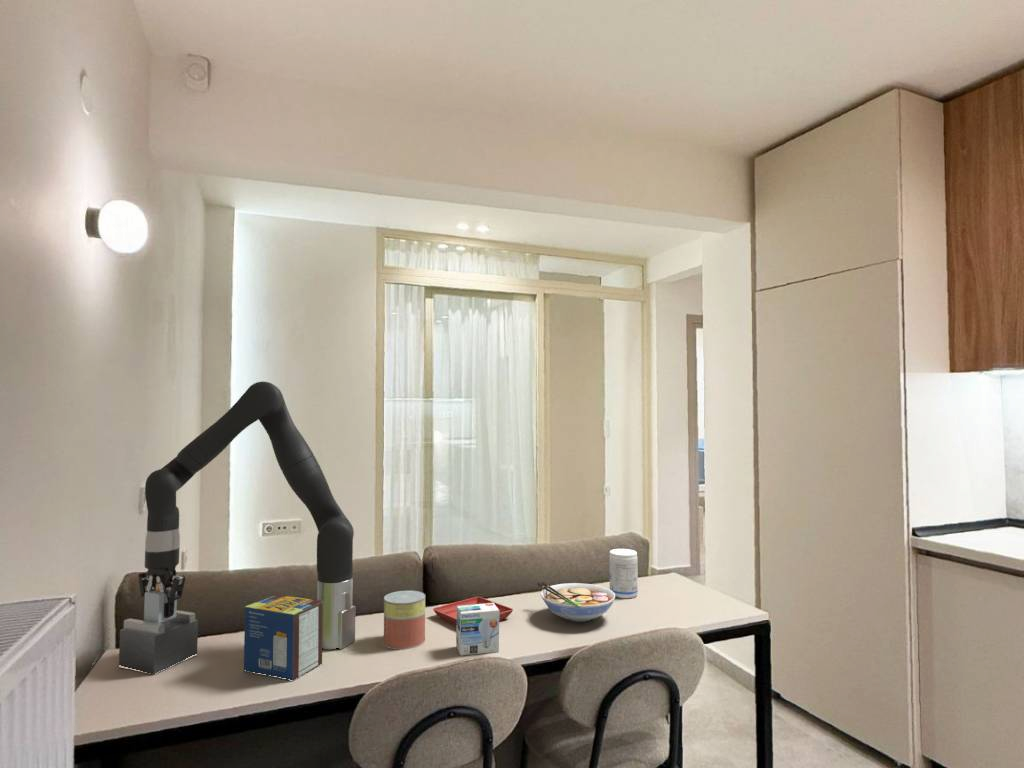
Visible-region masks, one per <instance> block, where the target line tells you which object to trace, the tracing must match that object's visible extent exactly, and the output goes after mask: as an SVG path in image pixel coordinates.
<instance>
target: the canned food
mask: <svg viewBox="0 0 1024 768" xmlns="http://www.w3.org/2000/svg"><path fill="white" fill-rule="evenodd" d="M425 642H426V593H424V592H423V591H419V590H411V589H410V590H397V591H393V592H389V593H388V594H387V593H386V594H385V595H384V596H383V643H384V644H383V646H385V647H386V648H388V647H389V648H388V649H391V648H392V650H409V649H414V648H417V647H420V646H422V645H424V644H425Z"/></svg>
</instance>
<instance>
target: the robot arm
mask: <svg viewBox="0 0 1024 768" xmlns="http://www.w3.org/2000/svg"><path fill="white" fill-rule="evenodd" d="M257 421H259V422H260V424H261V425H262V426H263V428H264V430H265V432H266V434H267V435H268V438H269V440H270V443H271V446H272V450H273V453H274V455H275V459H276V461H277V465H278V466H279V468H280V470H281V473H282V474H283V476H284V478H285V480H286V482H287V483H288V485H289V487H290V488H291V490H292V491H293V492H294V493H295V495H296V496H297V497H298V499H299V500H300V501H301V502H302V503H303V504H304V505H305V507H306V508H307V510H308V511H309V513H310V515H311V517H312V519H313V521H314V524H315V526H316V529H317V535H316V572H317V585H316V587H317V589H316V590H317V593H316V600H320V601H322V602H323V607H322V648H323V649H322V650H337V649H336V648H339V649H340V650H342V648H343V649H344V648H346V647H347V645H348V646H349V645H351V644H353V643H355V642H356V608H357V607H356V606H355V605H354V604H353V587H354V586H353V583H354V582H353V579H354V578H353V577H354V566H353V565H354V564H353V560H354V559H353V558H354V557H353V553H354V551H353V549H354V548H353V547H354V542H353V541H354V534H355V533H354V528H353V525H352V523H351V521H349V519H348V518H347V516H346V515H345V513H344V512H343V510H342V509H341V508H340V506H339V504H338V502H337V501H336V499H335V498H334V495H333V494H332V490H331V488H330V486H329V484H328V483H329V482H328V481H327V478H326V475H325V474H324V472H323V469H322V468H321V465H320V464H319V462H318V460H317V458H316V456H315V455H314V452H313V451H312V449H311V447H310V446H309V444H308V442H307V441H306V439H305V438H304V437H303V435H302V434H301V432H300V430H299V429H298V428H297V427H296V425H295V423H294V421H293V418H292V417H291V414H290V412H289V409H288V407H287V404H286V401H285V399H284V395H283V393H282V391H281V389H280V388H278V386H276V385H275V384H273V383H272V382H268V381H258V382H254V383H253V384H251V385H250V386H249V387H248V388H247V390H246V391H244V393H242V395H241V396H240V397H239V399H237V401H236V402H235V403H234V405H232V407H230V409H228V410H227V412H225V413H224V414H223V415H222V416H221V417H220V418H219V419H218V420H216V421H215V422H214V423H213V424H212V425H210V426H209V427H208V428H207V429H204V431H203V432H201V433H200V434H199V435H198V436H196V437H195V438H194V439H193V440H192V441H191V442H189V443H188V444H187V445H185V446H184V447H183V448H182V449H181V450H180V451H179V452H178V453H177V455H176V456H175V457H174V458H173V459H172V460H170V462H168V463H167V464H165V465H164V466H163V467H161V468H160V469H156V470H154V471H153V472H151V473H150V474H149V475H148V476H147V478H146V481H145V486H144V495H145V503H146V509H147V521H146V535H145V542H144V544H145V546H144V547H145V548H144V568H145V569H147V571H144V572H141V573H140V572H139V573H138V575H137V576H138V577H137V578H138V584H139V585H138V586H139V591H140V596H141V598H145V592H148V591H149V592H150V591H153V590H156V584H159V589H160V593H163V594H164V602H165V603H164V618H168V617H171V616H173V614H174V602H175V600H177V601H178V600H180V599H181V598H182V596H183V591H184V586H185V581H186V576H185V574H184V575H178V574H177V570H176V567H177V566H178V565H179V564H180V540H181V536H180V510H179V507H178V506H177V491H179V490H180V489H181V488H182V487H184V485H186V484H187V483H188V482H189V481H190V480H191V479H192V478H193V477H194V476H195V475H196V474H197V473H198V472H199V471H201V470H203V468H205V467H206V466H207V465H208V464H210V463H211V462H212V461H213V460H215V458H217V457H218V456H219V455H220V454H221V453H222V452H223V451H224V450H225V449H226V448H227V447H228V446H229V445H230V444H231V443H232V442H233V440H234V439H236V438H237V437H238V435H239V434H241V433H242V432H243V431H245V429H247V428H248V427H249V426H251V425H252V424H254V423H255V422H257ZM165 588H170V589H167V590H166V589H165ZM168 592H171V593H170V597H169V596H168ZM176 592H177V595H176ZM352 642H353V643H352ZM350 643H351V644H350ZM339 649H338V650H339Z"/></svg>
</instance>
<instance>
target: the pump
mask: <svg viewBox="0 0 1024 768" xmlns="http://www.w3.org/2000/svg"><path fill="white" fill-rule="evenodd" d="M165 589H166V590H167V589H170V587H169V588H165ZM170 593H171V592H168V596H169V597H170ZM176 595H177V592H176ZM164 603H165V602H164V594H163V593H160V589H159V584H156V590H153V591H150V592H149V591H148V592H145V597H144V603H143V604H144V605H143V606H144V608H143V621H148V622H154V623H160V622H163V621H166V620H169V619H172V618H174V617H176V614H177V609H178V608H177V607H178V599H177V600H175V602H174V614H173V616H171V617H168V618H164Z"/></svg>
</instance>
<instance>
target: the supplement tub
mask: <svg viewBox="0 0 1024 768" xmlns="http://www.w3.org/2000/svg"><path fill="white" fill-rule="evenodd" d="M608 558H609V565H608V566H609V589H610V590H611V591H613V592H614V593H615V598H618V599H633V598H635V597H637V596H638V593H639V590H638V589H639V588H638V586H639V585H638V584H639V583H638V579H639V578H638V572H639V571H638V552H637V551H636V550H634V549H629V548H613V549H611V550H610V551H609V557H608Z"/></svg>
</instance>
